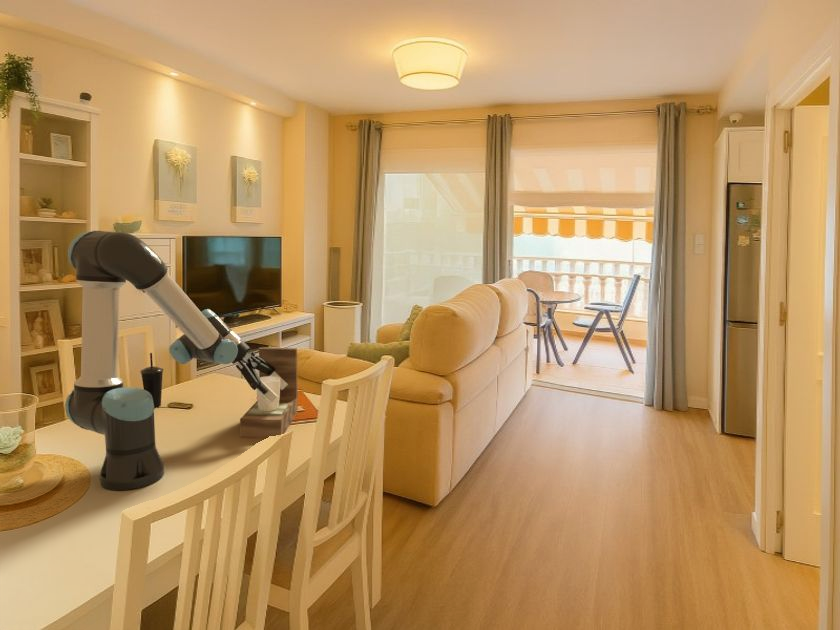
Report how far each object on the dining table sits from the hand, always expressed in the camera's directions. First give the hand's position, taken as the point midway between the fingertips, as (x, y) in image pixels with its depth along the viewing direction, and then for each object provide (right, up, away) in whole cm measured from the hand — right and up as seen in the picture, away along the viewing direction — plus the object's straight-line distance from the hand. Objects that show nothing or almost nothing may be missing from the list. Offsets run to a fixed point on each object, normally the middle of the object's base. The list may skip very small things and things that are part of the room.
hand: (280, 393), depth 185 cm
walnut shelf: (-4, -11, +4) cm, 12 cm away
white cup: (-4, -5, +1) cm, 7 cm away
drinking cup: (-52, -8, +20) cm, 56 cm away
